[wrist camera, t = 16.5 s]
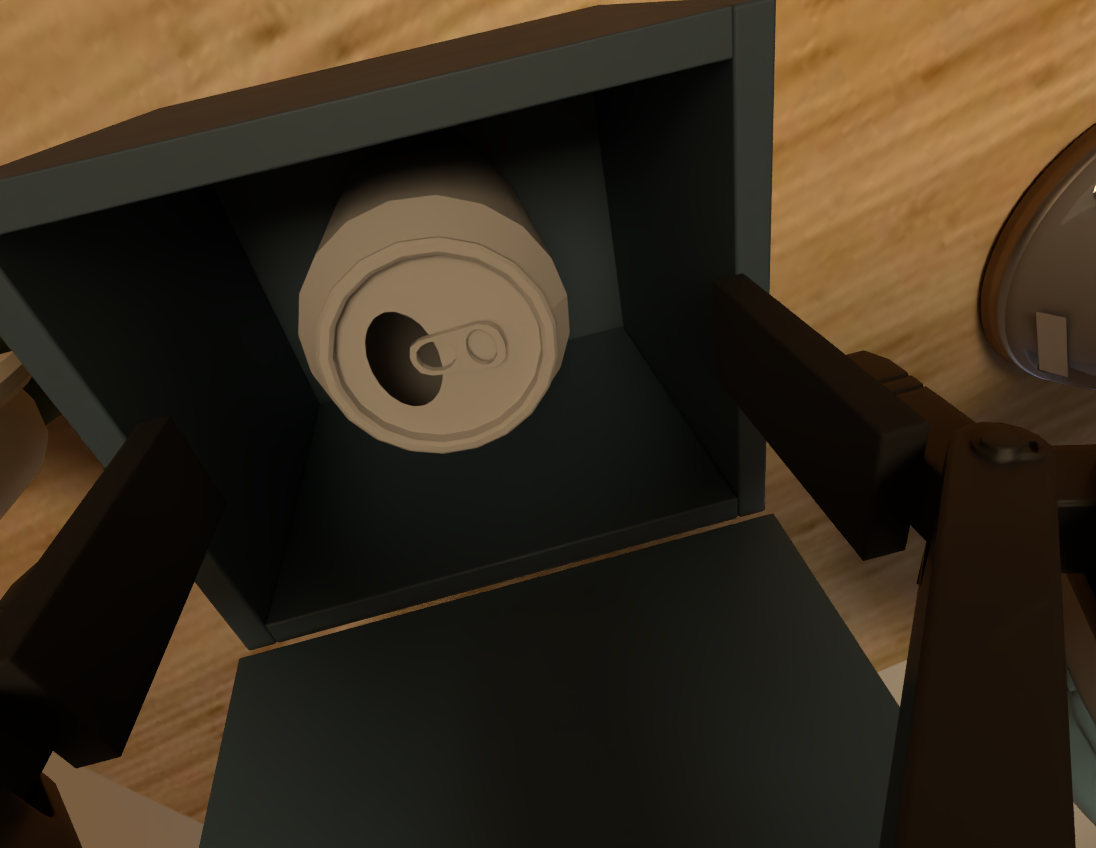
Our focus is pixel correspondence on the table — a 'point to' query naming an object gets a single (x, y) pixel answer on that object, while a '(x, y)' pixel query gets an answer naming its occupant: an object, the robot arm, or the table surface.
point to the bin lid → (572, 716)
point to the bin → (289, 249)
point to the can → (432, 300)
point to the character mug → (20, 427)
